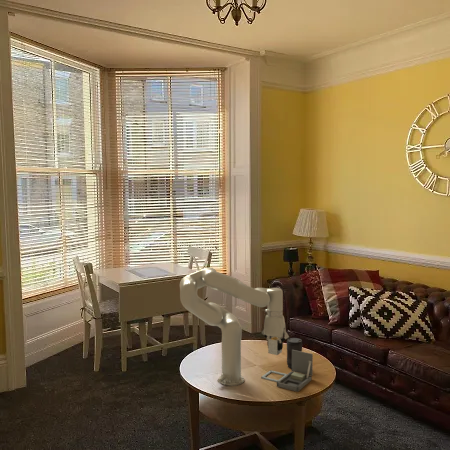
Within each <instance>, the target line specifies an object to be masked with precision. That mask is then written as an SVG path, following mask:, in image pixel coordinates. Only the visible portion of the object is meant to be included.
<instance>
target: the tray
mask: <svg viewBox="0 0 450 450" xmlns="http://www.w3.org/2000/svg"><path fill="white" fill-rule="evenodd" d="M271 373H273V374H276V375H281V376H282V377H280V378H279V379H275V378H270V377H268V376H269V375H270V374H271ZM287 374H288V373H284V372H280V371H277V370H276V371H275V370H269V371H267V372H266V373H265V374H263V375H262V376H261V377H260V379H263V380H266V381H271V382H275V383H277V382H278V381H279V380H281V379H282V378H283V377H285V376H286V375H287Z"/></svg>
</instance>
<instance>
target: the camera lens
mask: <svg viewBox="0 0 450 450" xmlns="http://www.w3.org/2000/svg"><path fill="white" fill-rule="evenodd" d="M292 350H296V351H301V352H303V340H302V339H301V338H297V337H289V338H287V339H286V365H287V368H288V369H291V370H292Z"/></svg>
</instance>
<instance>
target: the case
mask: <svg viewBox="0 0 450 450" xmlns="http://www.w3.org/2000/svg"><path fill="white" fill-rule="evenodd" d="M313 355H314V354H313V353H311V352H305V351H302V352H301V351H296V350H292V369H291V371H290V372H288V373H286V374H287V375H286V376H285V377H283V376H282V377H283V378H282V377H281V378H282V379H281V378H280V379H281V380H279V379H278V380H279V381H278V382H276V387H278V388H281V389H285V390H289V391H292V392H296V393H298V392H299V391H301V390H302V389H303V388H304V387H305V386H306V385H307V384H309V383H310V382H311V381H312V380H313V378H312V377H313V370H314V369H313Z"/></svg>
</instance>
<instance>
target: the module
mask: <svg viewBox="0 0 450 450" xmlns="http://www.w3.org/2000/svg"><path fill="white" fill-rule="evenodd" d="M278 343H279V339H278V337H271V338H269V339H268V345H267V349H268V351H267V353H268V354H270V355H274V356H278V355H280V354H282V352H283V349H282V350H280V351H278Z"/></svg>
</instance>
